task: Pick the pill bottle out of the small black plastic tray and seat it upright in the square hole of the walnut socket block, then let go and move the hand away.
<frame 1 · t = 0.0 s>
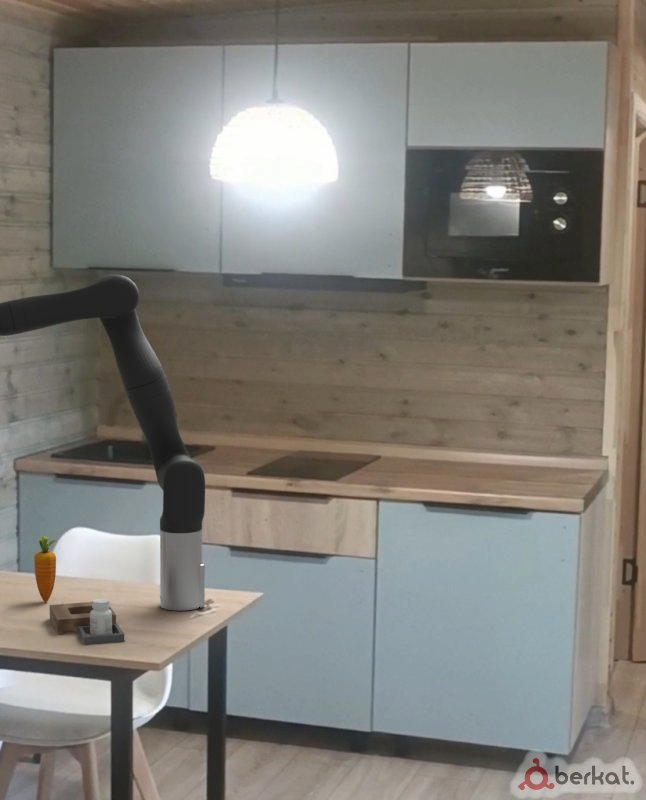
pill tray: (101, 637, 269), on the table
socket block: (82, 624, 279), on the table
pill bottle: (101, 638, 269), resting in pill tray
carrot: (45, 603, 296), on the table
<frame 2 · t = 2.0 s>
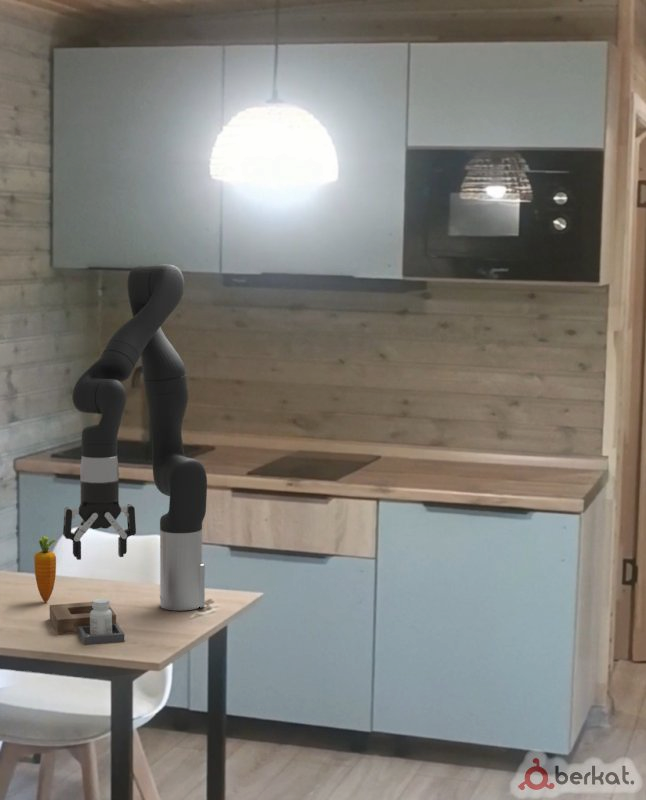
hand: (99, 557, 267), 16 cm above the table, tool pointing down, fingers open, 8 cm apart
nothing on the table moved.
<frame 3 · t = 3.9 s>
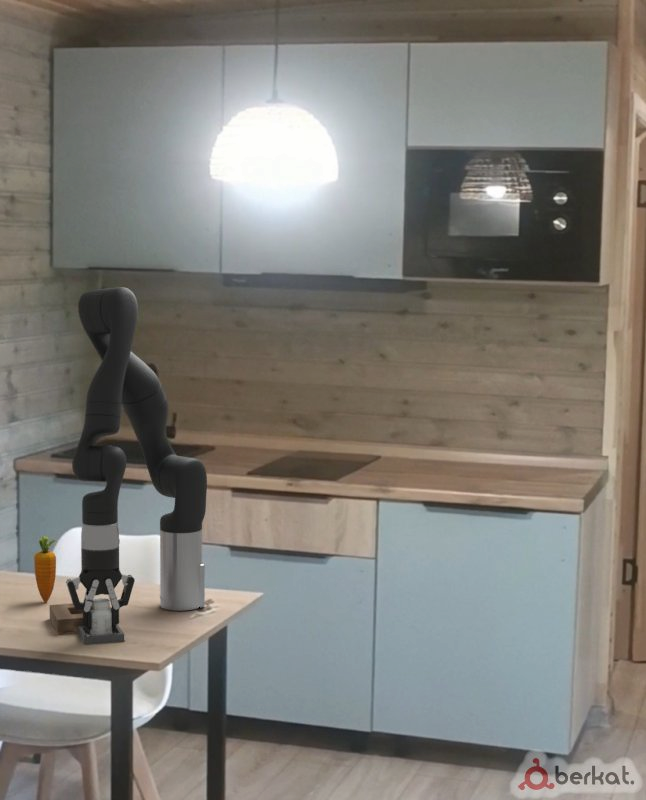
hand: (100, 627, 269), 2 cm above the table, tool pointing down, fingers closed on pill bottle, 4 cm apart
pill bottle: (101, 638, 269), resting in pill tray, touching gripper
everything else where it was.
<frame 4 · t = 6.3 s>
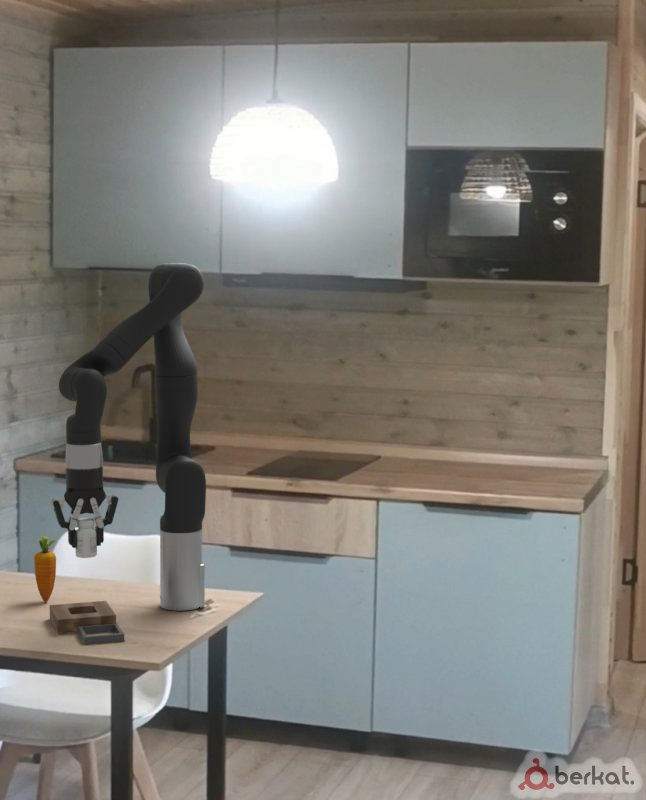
hand: (86, 545, 275), 17 cm above the table, tool pointing down, fingers closed on pill bottle, 4 cm apart
pill bottle: (86, 556, 276), point 15 cm above the table, touching gripper
everything else where it was.
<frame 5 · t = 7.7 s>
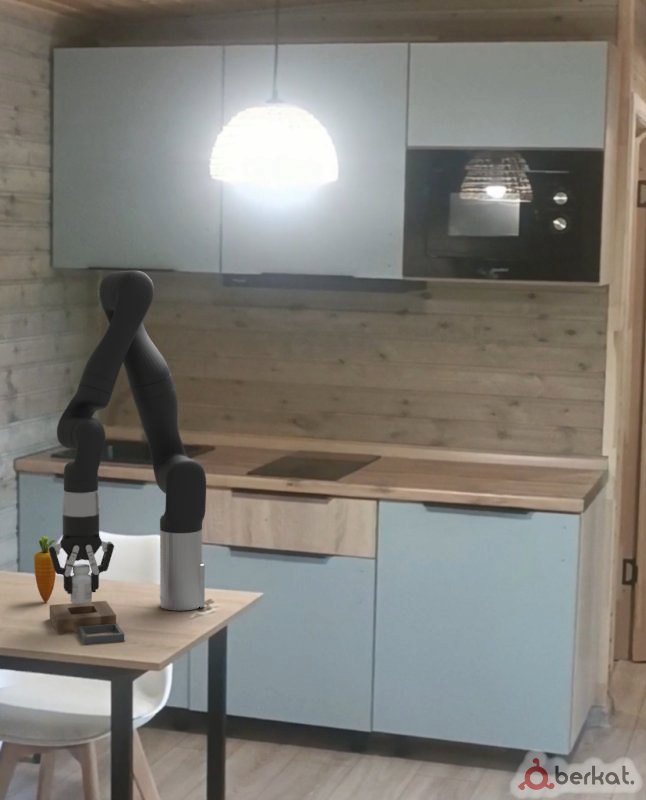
hand: (81, 591, 278), 7 cm above the table, tool pointing down, fingers closed on pill bottle, 4 cm apart
pill bottle: (81, 602, 278), point 5 cm above the table, touching gripper
everything else where it was.
when the fingers open (4 cm above the table, at t = 8.7 s): pill bottle drops 2 cm, resting in socket block.
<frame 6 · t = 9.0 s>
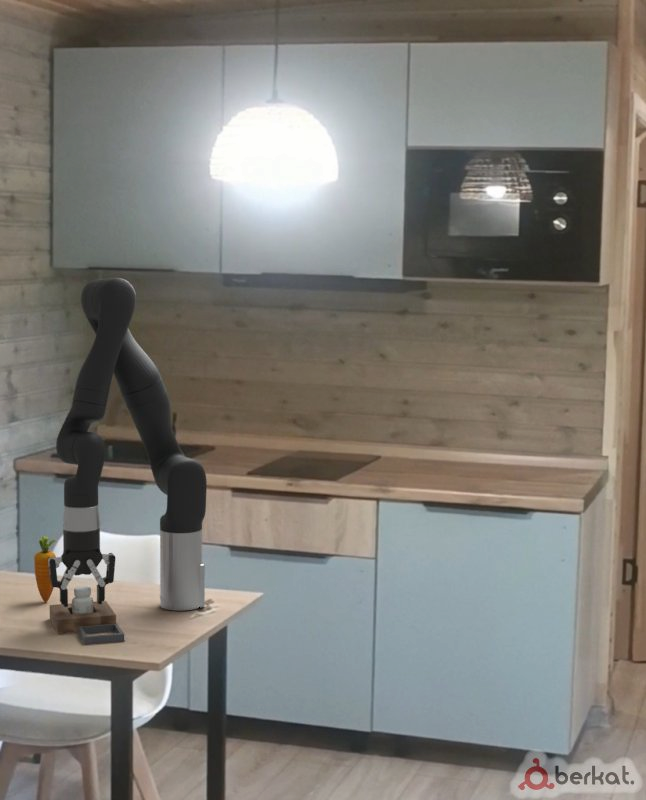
hand: (82, 604, 278), 4 cm above the table, tool pointing down, fingers open, 6 cm apart
pill bottle: (83, 624, 279), resting in socket block
everything else where it was.
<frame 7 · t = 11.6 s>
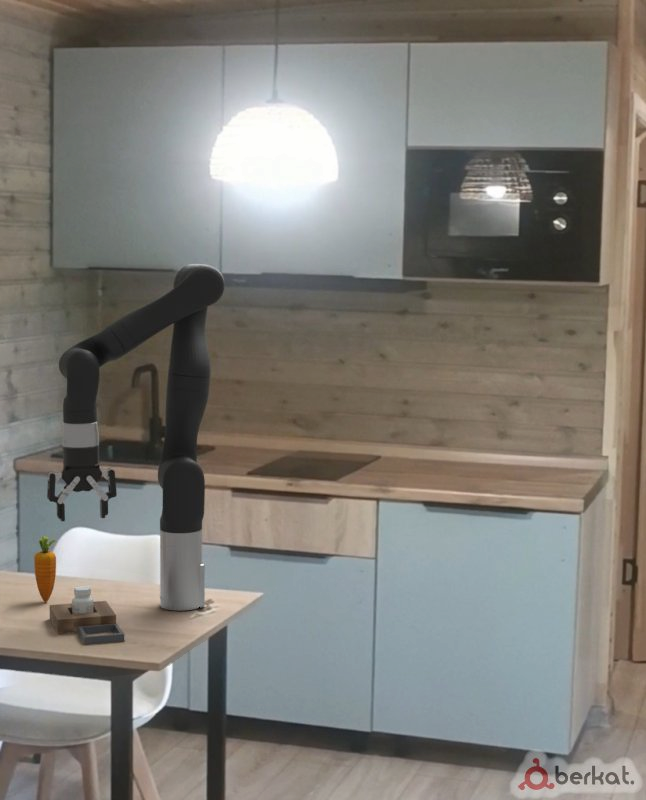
hand: (82, 519, 281), 21 cm above the table, tool pointing down, fingers open, 8 cm apart
nothing on the table moved.
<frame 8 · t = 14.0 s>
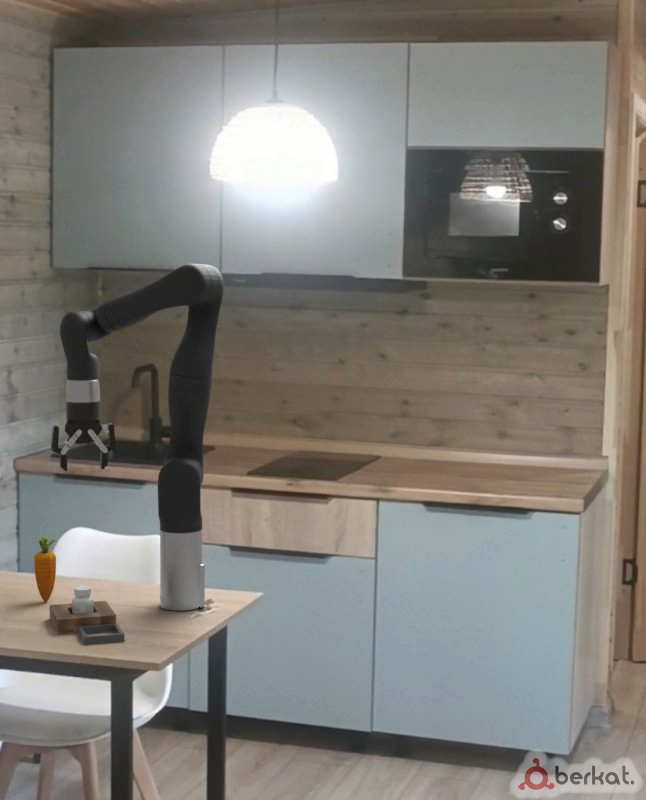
hand: (83, 469, 304), 28 cm above the table, tool pointing down, fingers open, 8 cm apart
nothing on the table moved.
at the end: pill bottle 0.1 cm off-centre on the socket block, point 0.0 cm above the socket block's base; pill bottle tilted 0°; the gripper is holding nothing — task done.
